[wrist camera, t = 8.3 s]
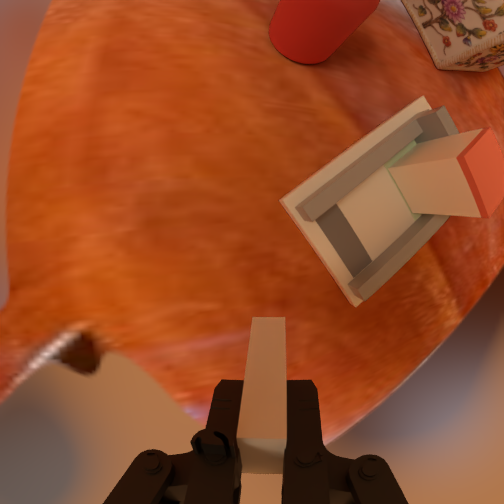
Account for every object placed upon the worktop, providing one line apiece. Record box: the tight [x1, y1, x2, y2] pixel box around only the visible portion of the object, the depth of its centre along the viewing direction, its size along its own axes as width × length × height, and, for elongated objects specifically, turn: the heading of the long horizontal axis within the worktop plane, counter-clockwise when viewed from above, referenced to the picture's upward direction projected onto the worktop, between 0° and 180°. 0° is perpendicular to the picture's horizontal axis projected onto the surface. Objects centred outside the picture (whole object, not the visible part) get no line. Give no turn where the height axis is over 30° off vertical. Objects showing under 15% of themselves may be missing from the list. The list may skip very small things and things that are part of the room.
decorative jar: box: [401, 0, 504, 72], centre depth 17 cm, size 12×12×18 cm
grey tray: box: [278, 96, 459, 307], centre depth 24 cm, size 20×12×6 cm, turn 127°
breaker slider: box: [388, 127, 504, 218], centre depth 21 cm, size 5×5×10 cm
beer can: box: [269, 0, 380, 64], centre depth 18 cm, size 7×7×12 cm
